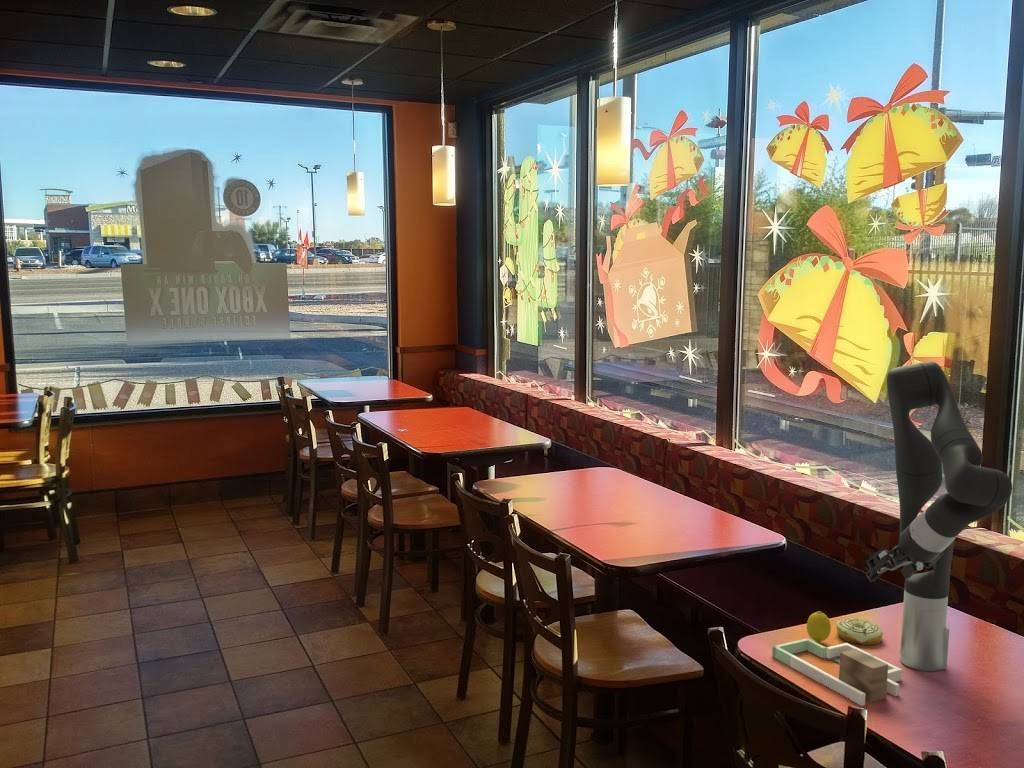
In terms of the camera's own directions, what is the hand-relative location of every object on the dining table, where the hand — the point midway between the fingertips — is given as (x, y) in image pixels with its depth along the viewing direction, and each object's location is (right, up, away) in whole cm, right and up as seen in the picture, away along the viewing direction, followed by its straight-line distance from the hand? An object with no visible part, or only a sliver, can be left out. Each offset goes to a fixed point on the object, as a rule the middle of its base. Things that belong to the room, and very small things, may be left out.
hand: (886, 576), depth 185 cm
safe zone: (-9, -25, +26) cm, 37 cm away
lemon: (-2, -24, +35) cm, 43 cm away
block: (-1, -27, +10) cm, 29 cm away
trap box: (-1, -26, +16) cm, 31 cm away
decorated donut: (+9, -24, +39) cm, 46 cm away
